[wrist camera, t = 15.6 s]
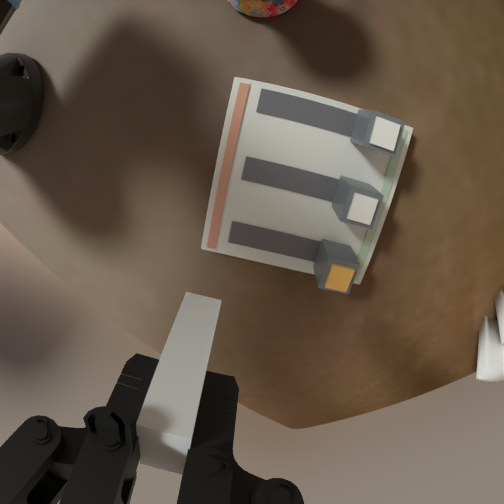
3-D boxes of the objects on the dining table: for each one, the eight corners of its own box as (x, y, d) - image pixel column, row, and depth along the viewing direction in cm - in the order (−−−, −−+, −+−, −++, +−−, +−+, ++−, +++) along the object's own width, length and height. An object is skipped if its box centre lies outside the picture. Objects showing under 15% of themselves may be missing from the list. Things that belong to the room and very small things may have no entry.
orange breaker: (313, 266, 37) (318, 290, 32) (322, 238, 36) (329, 260, 31) (340, 272, 37) (349, 297, 32) (350, 245, 36) (361, 267, 31)
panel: (203, 242, 39) (189, 271, 33) (236, 78, 31) (226, 69, 24) (357, 277, 40) (370, 309, 33) (407, 127, 32) (435, 132, 25)
